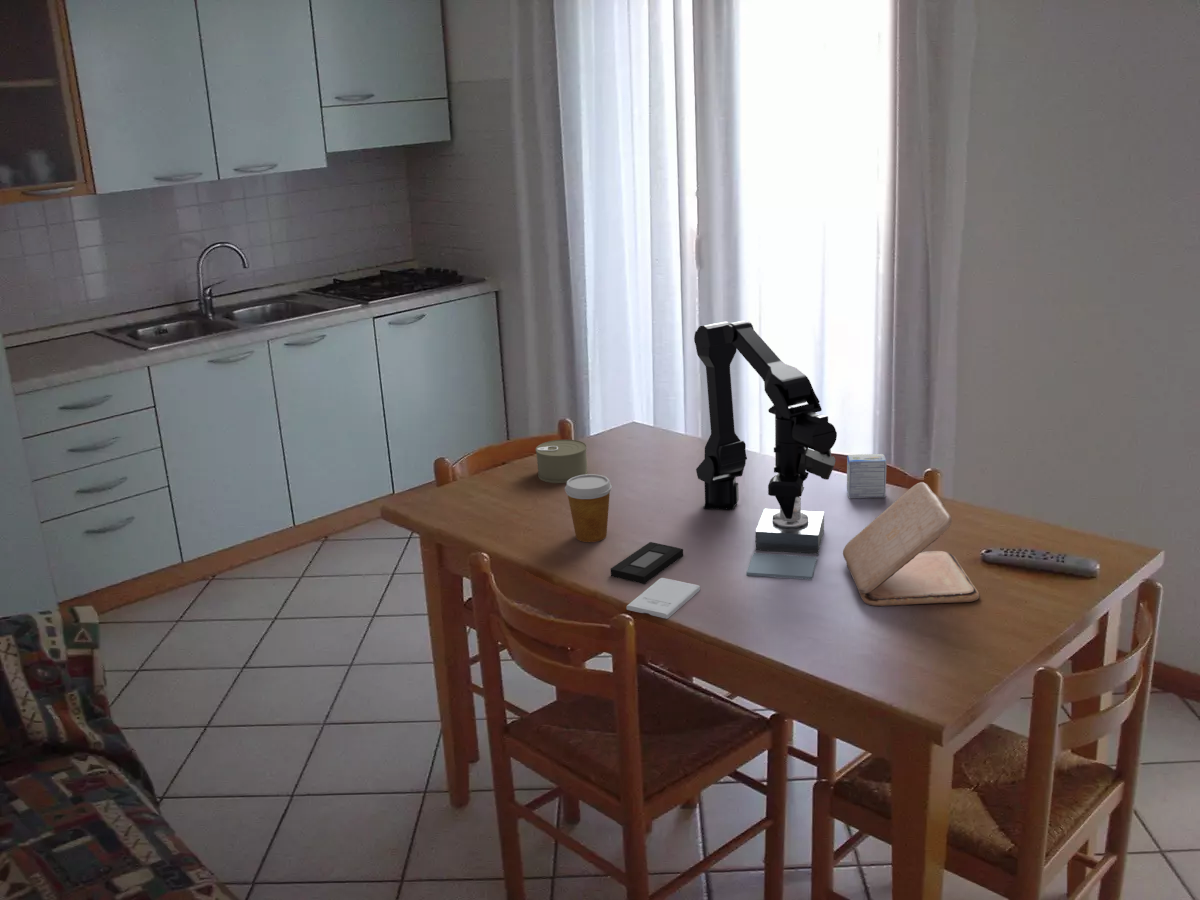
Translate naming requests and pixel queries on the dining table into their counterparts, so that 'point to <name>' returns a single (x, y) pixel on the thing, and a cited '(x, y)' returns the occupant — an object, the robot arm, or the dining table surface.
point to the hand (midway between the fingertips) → (790, 514)
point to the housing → (790, 534)
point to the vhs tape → (646, 562)
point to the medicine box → (866, 476)
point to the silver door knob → (797, 517)
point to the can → (561, 460)
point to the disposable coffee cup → (589, 505)
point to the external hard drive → (663, 598)
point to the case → (907, 555)
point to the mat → (782, 566)
